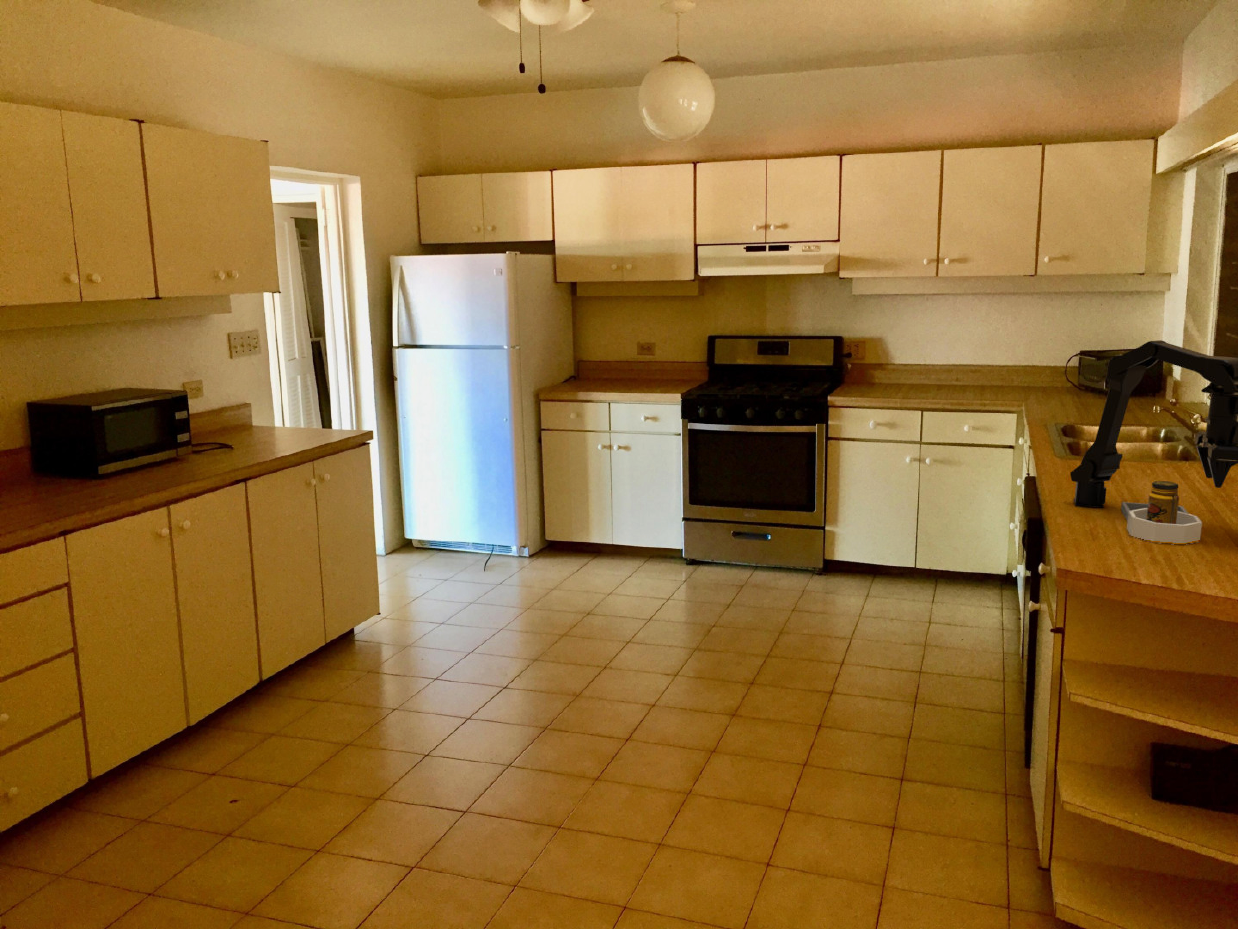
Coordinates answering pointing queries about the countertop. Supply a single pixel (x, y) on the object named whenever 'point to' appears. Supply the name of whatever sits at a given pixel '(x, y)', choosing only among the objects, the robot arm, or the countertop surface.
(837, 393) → the countertop surface
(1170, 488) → the condiment
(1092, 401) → the countertop surface
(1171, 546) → the countertop surface
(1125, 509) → the open square frame
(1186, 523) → the bowl
